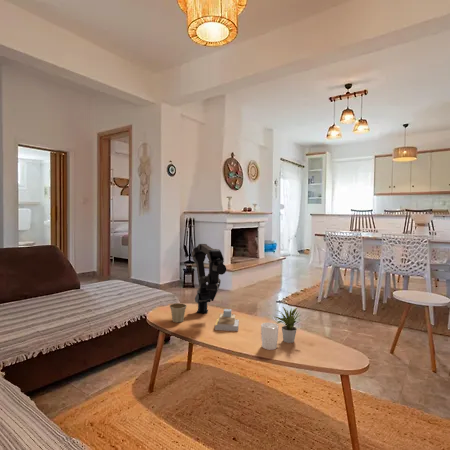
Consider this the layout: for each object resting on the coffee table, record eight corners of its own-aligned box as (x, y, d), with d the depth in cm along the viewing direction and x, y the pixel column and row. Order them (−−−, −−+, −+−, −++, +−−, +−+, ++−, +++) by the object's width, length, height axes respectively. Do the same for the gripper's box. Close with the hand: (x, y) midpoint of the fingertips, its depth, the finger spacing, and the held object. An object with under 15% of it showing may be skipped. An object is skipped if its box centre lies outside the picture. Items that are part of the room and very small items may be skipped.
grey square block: (223, 316, 171) (223, 311, 171) (224, 314, 175) (224, 308, 175) (230, 317, 171) (231, 311, 171) (231, 314, 175) (231, 309, 175)
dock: (217, 322, 179) (217, 318, 179) (238, 324, 178) (238, 319, 178) (214, 329, 168) (215, 324, 168) (238, 331, 167) (238, 326, 167)
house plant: (282, 332, 167) (283, 301, 167) (307, 338, 159) (309, 305, 159) (269, 340, 156) (270, 307, 155) (296, 348, 148) (297, 312, 147)
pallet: (219, 323, 171) (219, 317, 170) (220, 320, 177) (220, 313, 176) (234, 324, 170) (234, 317, 170) (234, 320, 176) (235, 314, 176)
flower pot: (185, 324, 176) (185, 308, 176) (167, 323, 176) (168, 307, 176) (187, 318, 186) (187, 303, 185) (171, 318, 186) (171, 303, 185)
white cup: (273, 352, 143) (274, 329, 142) (257, 347, 147) (258, 325, 147) (280, 346, 149) (281, 324, 149) (265, 342, 154) (265, 321, 153)
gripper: (202, 268, 194) (201, 294, 194) (197, 273, 175) (196, 302, 175) (220, 269, 193) (220, 295, 193) (217, 274, 174) (217, 303, 174)
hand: (213, 298), depth 184 cm, fingers open, 9 cm apart
